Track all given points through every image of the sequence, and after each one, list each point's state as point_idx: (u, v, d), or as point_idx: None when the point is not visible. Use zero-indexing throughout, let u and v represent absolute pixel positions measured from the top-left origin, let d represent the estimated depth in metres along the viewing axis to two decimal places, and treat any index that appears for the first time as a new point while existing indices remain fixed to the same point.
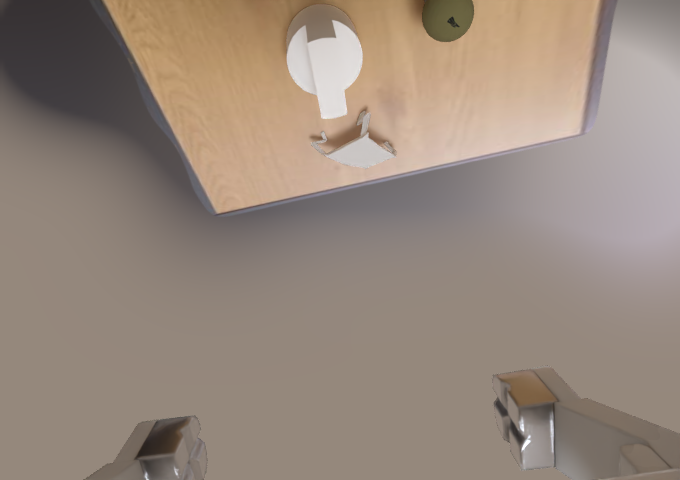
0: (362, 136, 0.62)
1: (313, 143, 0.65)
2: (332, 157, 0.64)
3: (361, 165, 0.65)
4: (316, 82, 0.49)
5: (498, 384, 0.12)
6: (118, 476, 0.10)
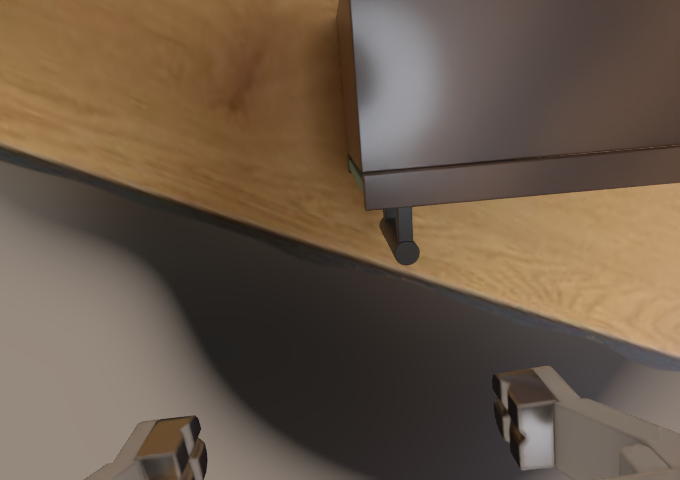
0: None
1: None
2: None
3: None
4: None
5: (498, 385, 0.12)
6: (117, 477, 0.10)
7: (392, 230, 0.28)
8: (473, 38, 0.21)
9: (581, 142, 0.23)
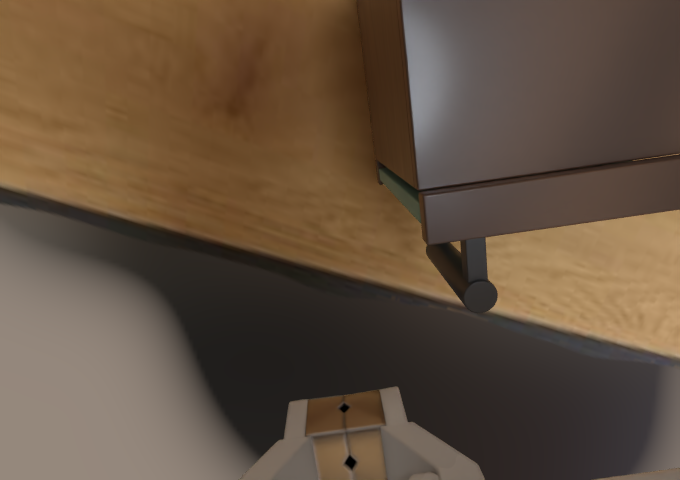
0: None
1: None
2: None
3: None
4: None
5: (344, 406, 0.12)
6: (297, 452, 0.10)
7: (451, 262, 0.21)
8: None
9: None
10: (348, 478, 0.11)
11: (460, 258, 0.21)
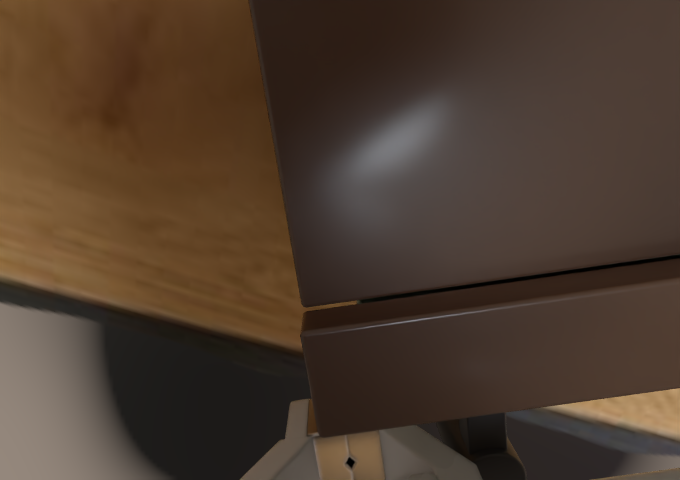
0: None
1: None
2: None
3: None
4: None
5: None
6: (299, 452, 0.10)
7: None
8: None
9: None
10: (349, 478, 0.11)
11: None
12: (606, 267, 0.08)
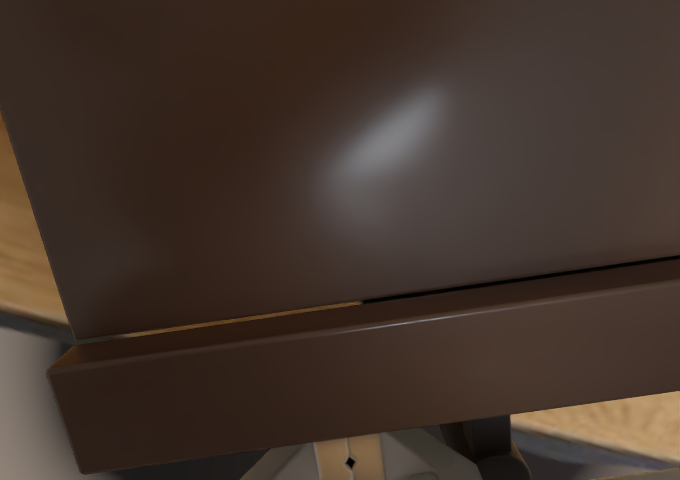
0: None
1: None
2: None
3: None
4: None
5: None
6: (298, 452, 0.10)
7: None
8: None
9: None
10: (349, 478, 0.11)
11: None
12: (613, 267, 0.08)
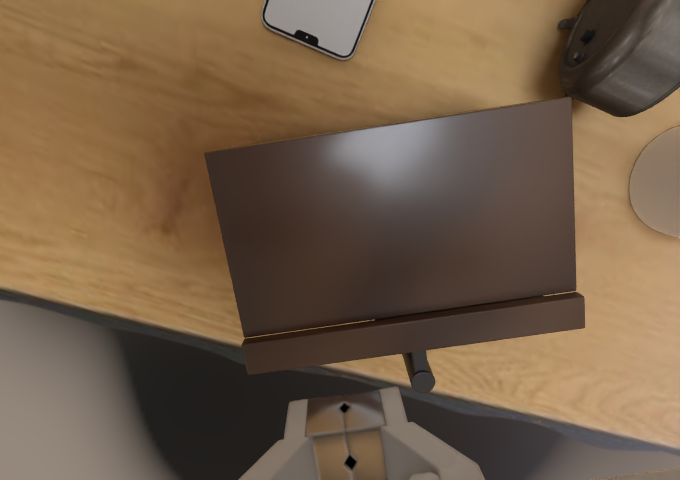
0: None
1: None
2: None
3: None
4: None
5: (344, 406, 0.12)
6: (298, 452, 0.10)
7: None
8: (331, 217, 0.23)
9: (449, 299, 0.24)
10: (348, 478, 0.11)
11: None
12: None
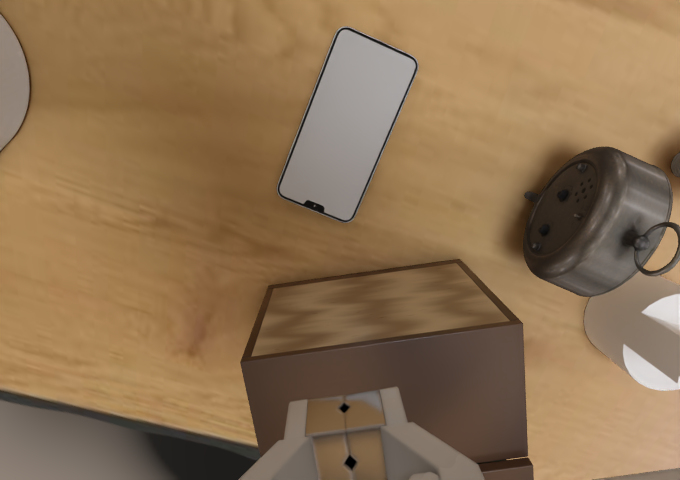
0: None
1: None
2: None
3: None
4: None
5: (344, 406, 0.12)
6: (297, 452, 0.10)
7: None
8: None
9: None
10: (348, 478, 0.11)
11: None
12: None
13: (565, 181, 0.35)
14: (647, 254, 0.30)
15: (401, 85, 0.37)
